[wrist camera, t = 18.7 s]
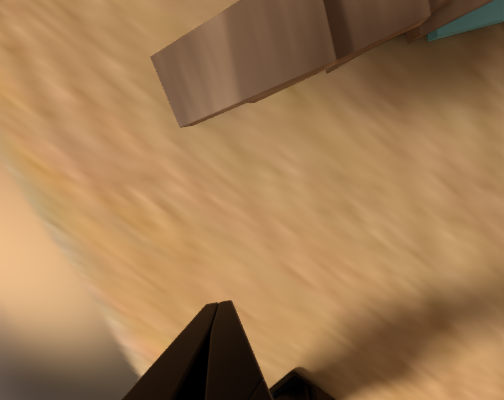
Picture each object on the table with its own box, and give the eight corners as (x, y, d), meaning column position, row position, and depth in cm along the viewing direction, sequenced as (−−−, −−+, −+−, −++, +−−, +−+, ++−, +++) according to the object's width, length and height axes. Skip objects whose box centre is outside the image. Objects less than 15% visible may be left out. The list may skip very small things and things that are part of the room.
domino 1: (166, 60, 16) (315, -29, 12) (192, 125, 17) (336, 64, 13) (150, 56, 14) (312, -46, 10) (179, 127, 16) (336, 59, 12)
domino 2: (230, 36, 16) (402, -73, 12) (254, 102, 17) (420, 24, 13) (219, 29, 14) (412, -97, 10) (246, 102, 15) (431, 15, 11)
